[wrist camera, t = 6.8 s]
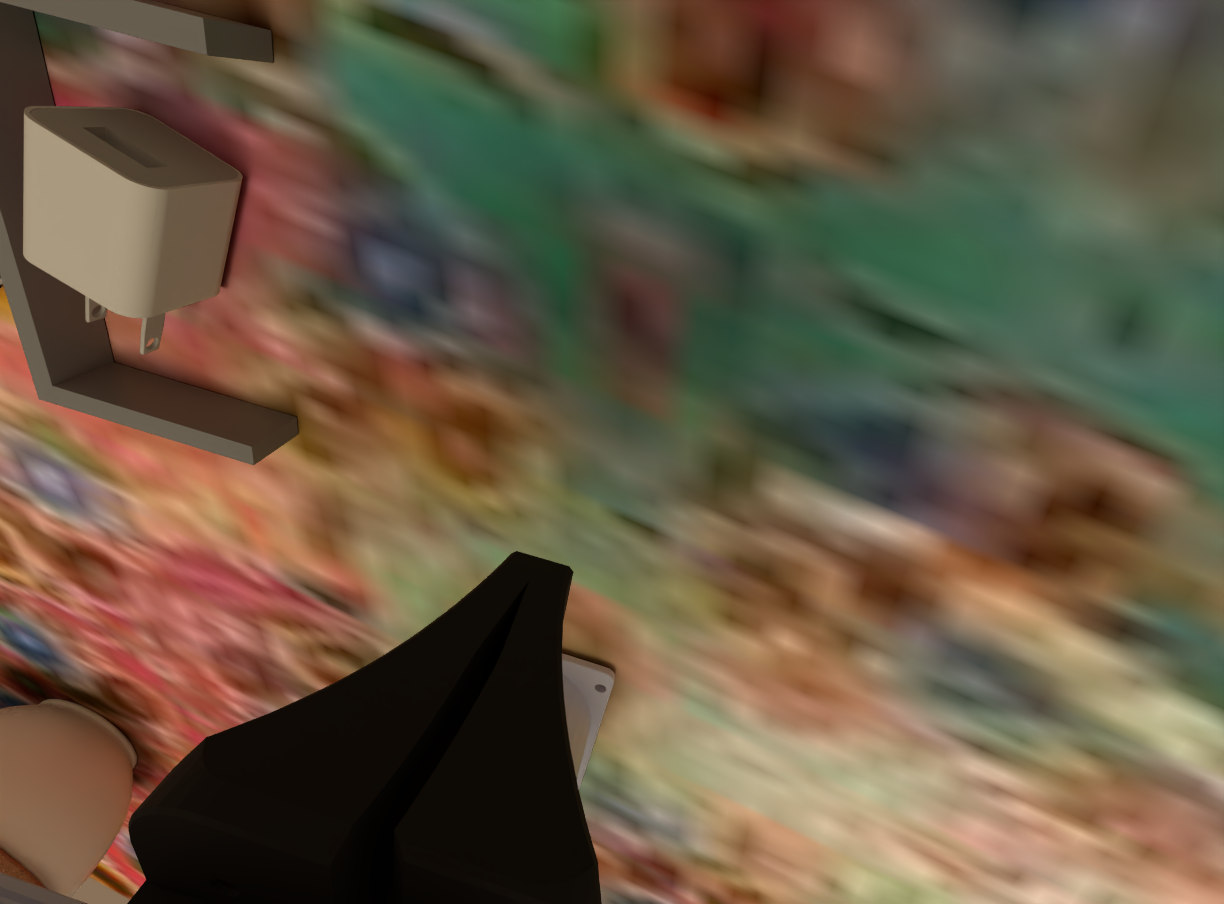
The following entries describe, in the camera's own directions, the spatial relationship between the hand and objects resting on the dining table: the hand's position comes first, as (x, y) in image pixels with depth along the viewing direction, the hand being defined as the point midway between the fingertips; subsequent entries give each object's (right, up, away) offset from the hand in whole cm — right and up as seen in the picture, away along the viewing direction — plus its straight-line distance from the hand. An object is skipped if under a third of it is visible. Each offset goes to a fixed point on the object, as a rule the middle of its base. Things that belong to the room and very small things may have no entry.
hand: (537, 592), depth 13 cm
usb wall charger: (-13, +11, +8) cm, 19 cm away
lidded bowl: (-33, -16, +27) cm, 46 cm away
